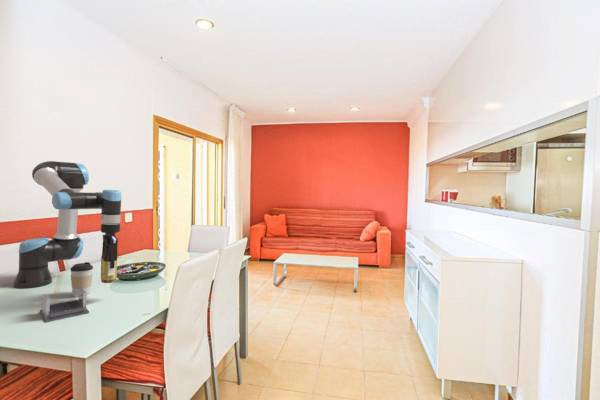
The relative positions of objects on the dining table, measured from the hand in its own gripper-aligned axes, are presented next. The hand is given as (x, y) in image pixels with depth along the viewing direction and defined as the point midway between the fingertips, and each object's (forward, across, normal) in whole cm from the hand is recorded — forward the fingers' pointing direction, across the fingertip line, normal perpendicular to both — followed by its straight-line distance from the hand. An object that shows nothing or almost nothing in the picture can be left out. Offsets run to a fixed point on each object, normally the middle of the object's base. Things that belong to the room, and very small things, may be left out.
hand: (108, 273), depth 144 cm
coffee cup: (+13, -16, -7) cm, 22 cm away
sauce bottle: (+4, 0, 0) cm, 4 cm away
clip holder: (+13, +4, -17) cm, 22 cm away
